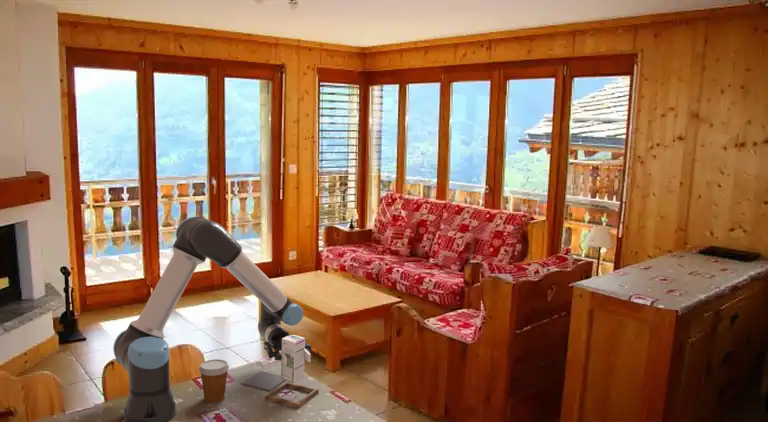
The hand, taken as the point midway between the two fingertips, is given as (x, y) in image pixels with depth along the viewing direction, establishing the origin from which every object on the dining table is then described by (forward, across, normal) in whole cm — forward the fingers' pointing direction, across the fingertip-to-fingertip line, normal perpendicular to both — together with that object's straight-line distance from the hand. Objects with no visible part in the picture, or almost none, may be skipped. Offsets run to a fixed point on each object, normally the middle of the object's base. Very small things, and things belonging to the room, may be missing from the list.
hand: (297, 359), depth 194 cm
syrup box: (-5, 0, -9) cm, 10 cm away
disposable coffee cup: (-13, +24, -15) cm, 32 cm away
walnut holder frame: (-5, 0, -15) cm, 15 cm away
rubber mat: (-20, +5, -15) cm, 26 cm away
